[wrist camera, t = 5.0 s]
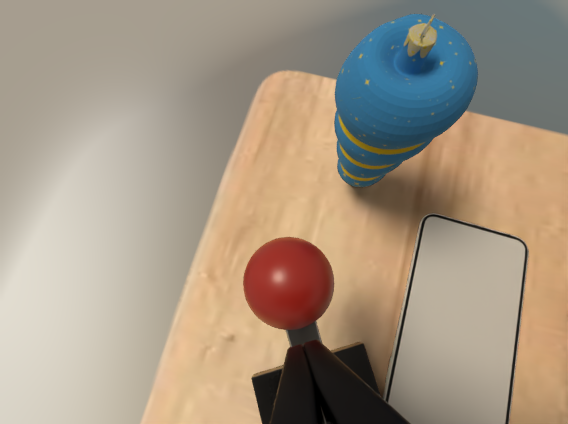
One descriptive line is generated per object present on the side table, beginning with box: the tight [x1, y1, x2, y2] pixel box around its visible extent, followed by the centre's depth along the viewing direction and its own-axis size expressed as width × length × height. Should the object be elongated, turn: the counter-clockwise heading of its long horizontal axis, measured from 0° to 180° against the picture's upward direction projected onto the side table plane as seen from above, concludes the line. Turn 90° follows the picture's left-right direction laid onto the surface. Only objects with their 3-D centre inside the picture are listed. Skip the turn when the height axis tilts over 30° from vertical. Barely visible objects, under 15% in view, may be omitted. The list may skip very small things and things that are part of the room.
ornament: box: [334, 14, 478, 187], centre depth 18 cm, size 5×5×15 cm
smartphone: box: [383, 213, 529, 424], centre depth 22 cm, size 7×1×15 cm
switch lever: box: [243, 237, 334, 424], centre depth 13 cm, size 12×3×3 cm, turn 15°
